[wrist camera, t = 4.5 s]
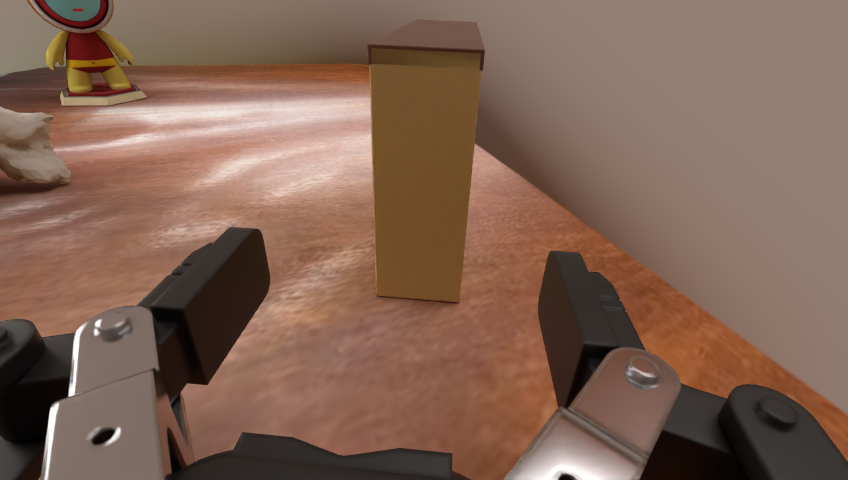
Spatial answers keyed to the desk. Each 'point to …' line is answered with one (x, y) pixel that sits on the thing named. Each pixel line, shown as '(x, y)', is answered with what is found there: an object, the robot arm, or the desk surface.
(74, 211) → the desk surface
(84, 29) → the figurine
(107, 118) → the desk surface
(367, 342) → the desk surface
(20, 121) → the decorative object
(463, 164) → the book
